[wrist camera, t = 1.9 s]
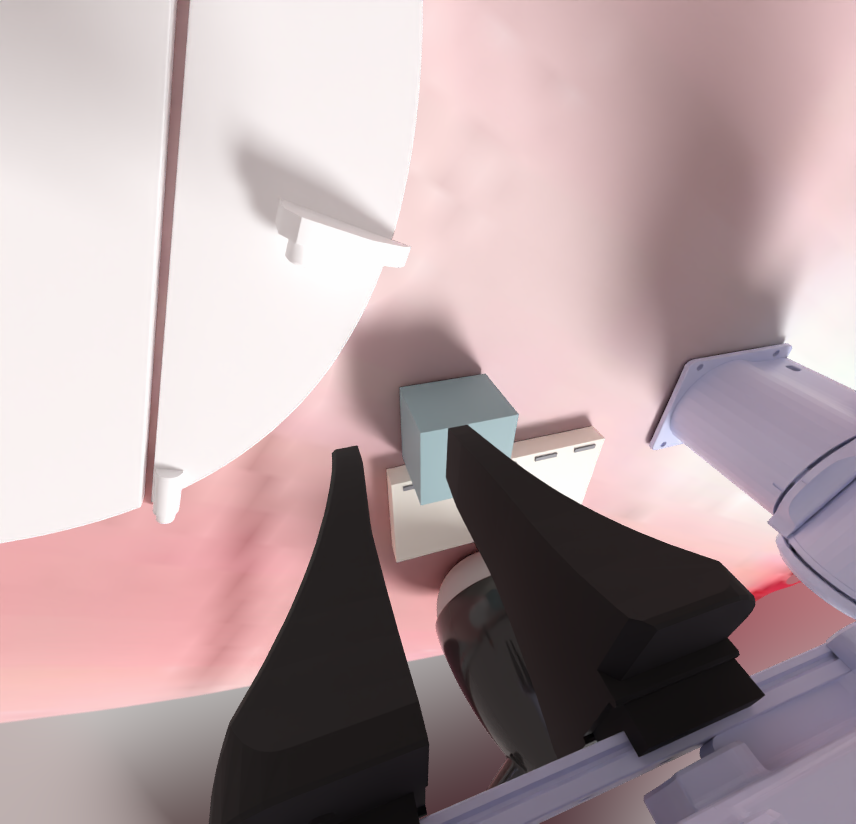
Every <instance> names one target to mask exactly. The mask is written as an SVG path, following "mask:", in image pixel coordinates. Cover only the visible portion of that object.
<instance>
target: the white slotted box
mask: <svg viewBox="0 0 856 824" xmlns="http://www.w3.org/2000/svg"><path fill="white" fill-rule="evenodd" d="M604 440H605V438H604V437H603V436H602V435H601V434H600V433H599V432H598V431H597V430H596V429H595V428H594V427H593V426H590V427H585V428H581V429H576V430H571V431H566V432H562V433H557V434H552V435H547V436H542V437H538V438H533V439H528V440H523V441H519V442H514V443H513V449H512V454H511V459H512V460H513V461H514V462H516V463H517V464H518V465H520V466H521V467H523V468H524V469H525V470H527V471H528V472H530V473H531V474H532V475H534V476H535V477H537V478H538V479H540V480H541V481H543V482H544V483H546V484H548V485H549V486H551V487H552V488H554V489H555V490H557V491H559V492H560V493H562V494H564V495H565V496H567V497H569V498H571V499H573V500H574V501H576V502H578V503H580V504H582V501H583V498H584V496H585V493H586V490H587V487H588V484H589V482H590V479H591V476H592V473H593V470H594V468H595V465H596V462H597V459H598V456H599V454H600V451H601V448H602V445H603V442H604ZM386 471H387V485H388V498H389V511H390V525H391V538H392V548H393V551H394V555H395V559H396V562H397V563H398V562H401V561H405V560H409V559H413V558H416V557H420V556H424V555H427V554H431V553H435V552H439V551H442V550H446V549H450V548H453V547H457V546H461V545H465V544H468V543H472V542H474V541H473V539H472V537H471V535H470V533H469V531H468V529H467V527H466V525H465V523H464V521H463V519H462V517H461V515H460V513H459V511H458V509H457V507H456V505H455V502H454V499H453V498H451V499H446V500H442V501H438V502H434V503H429V504H425V505H420V502H419V500H418V497H417V494H416V492H415V489H414V486H413V484H412V481H411V478H410V476H409V473H408V470H407V468H406V465H404V466H399V467H394V468H390V469H386Z"/></svg>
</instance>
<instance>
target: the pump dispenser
mask: <svg viewBox="0 0 856 824" xmlns="http://www.w3.org/2000/svg"><path fill="white" fill-rule="evenodd" d="M436 632H437V636H438V639H439V642H440V645H441V648H442V650H443V652H444V655H445V657H446V659H447V662H448V664H449V666H450V668H451V670H452V672H453V675H454V677H455V679H456V681H457V683H458V685H459V687H460V689H461V691H462V692H463V694H464V696H465V698H466V699H467V701H468V703H469V705H470V706H471V708H472V710H473V711H474V713H475V714H476V716H477V717H478V719H479V721H480V722H481V724H482V725H483V726H484V728H485V729H486V731H487V732H488V734H489V735H490V736H491V738H492V739H493V740H494V742H495V743H496V744H497V745H498V746H499V748H500V749H501V750H502V751H503V753H504V754H505V755H506V760H505V762H504V763H503V765H502V767H501V768H500V769H499V771H498V772H497V774H496V776H495V777H494V779H493V780H492V782H491V784H490V786H489V787H488V788H487V789H486V791H487V790H489V789H491V788H494V787H496V786H498V785H500V784H503V783H505V782H507V781H510V780H512V779H514V778H517V777H519V776H521V775H523V774H526V773H528V772H530V771H533V770H535V769H537V768H540V767H542V766H544V765H546V764H549V763H551V762H553V761H556V760H558V758H557V756H556V754H555V751H554V749H553V746H552V743H551V740H550V736H549V733H548V730H547V727H546V724H545V721H544V718H543V715H542V711H541V708H540V705H539V702H538V699H537V696H536V693H535V690H534V687H533V684H532V681H531V679H530V676H529V673H528V670H527V667H526V664H525V662H524V659H523V656H522V653H521V650H520V647H519V645H518V642H517V639H516V637H515V634H514V631H513V629H512V626H511V623H510V621H509V618H508V615H507V613H506V610H505V608H504V605H503V603H502V600H501V598H500V595H499V593H498V590H497V588H496V585H495V583H494V581H493V578H492V576H491V574H490V572H489V570H488V568H487V566H486V564H485V562H484V560H483V558H482V556H481V554H480V552H477V553H474V554H472V555H470V556H468V557H466V558H465V559H463V560H462V561H460V562H459V563H458V564H456V565H455V566H454V567H453V568H452V569H451V570H450V571H449V573H448V574H447V575H446V577H445V579H444V580H443V582H442V584H441V587H440V590H439V593H438V598H437V621H436Z"/></svg>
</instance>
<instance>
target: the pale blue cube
mask: <svg viewBox="0 0 856 824" xmlns="http://www.w3.org/2000/svg"><path fill="white" fill-rule="evenodd" d="M399 390H400V414H401V438H402V457H403V460H404V462H405V465H406V468H407V470H408V473H409V476H410V478H411V481H412V484H413V486H414V489H415V492H416V494H417V497H418V500H419V502H420V505H425V504H429V503H434V502H438V501H442V500H446V499H451V498H453V497H452V494H451V491H450V488H449V485H448V483H447V480H446V460H447V439H448V428H452V427H457V426H462V425H469V426H470V427H471V428H472V429H474V430H475V431H476V432H477V433H479V434H480V435H481V436H482V437H484V438H485V439H486V440H487V441H489V442H490V443H491V444H492V445H494V446H495V447H496V448H497V449H499V450H500V451H501V452H503V453H504V454H505V455H506V456H508V457H509V458H510V459H511V454H512V449H513V443H514V438H515V432H516V427H517V421H518V415H519V414H518V413H517V412H516V411H515V409H514V408H513V407H512V406H511V404H510V403H509V402H508V401H507V400H506V398H505V397H504V396H503V395H502V393H501V392H500V391H499V390H498V389H497V387H496V386H495V385H494V384H493V382H492V381H491V380H490V379H489V377H488V376H487V375H486V374H480V375H474V376H468V377H462V378H455V379H449V380H443V381H437V382H430V383H424V384H418V385H412V386H405V387H399Z"/></svg>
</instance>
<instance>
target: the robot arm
mask: <svg viewBox="0 0 856 824" xmlns="http://www.w3.org/2000/svg"><path fill="white" fill-rule="evenodd" d="M791 350H792V346H791V345H789V344H787V343H785V344H779V345H773V346H767V347H762V348H756V349H750V350H745V351H739V352H733V353H727V354H722V355H716V356H710V357H704V358H699V359H693V360H690V361H689V362H687V364H686V365H685V366H684V369H683V371H682V373H681V375H680V378H679V380H678V382H677V384H676V386H675V389H674V391H673V393H672V395H671V398H670V400H669V402H668V404H667V406H666V409H665V411H664V413H663V415H662V418H661V420H660V422H659V424H658V427H657V429H656V431H655V433H654V435H653V438H652V440H651V442H650V445H649V446H650V448H651V449H653V450H658V449H662V448H666V447H671V446H675V445H679V444H683V443H684V444H685V445H686V446H688V447H689V448H690V449H691V450H693V451H694V452H695V453H696V454H698V455H699V456H700V457H701V458H703V459H704V460H705V461H706V462H707V463H709V464H710V465H711V466H712V467H714V468H715V469H716V470H717V471H719V472H720V473H721V474H722V475H724V476H725V477H726V478H727V479H729V480H730V481H731V482H732V483H734V484H735V485H736V486H737V487H739V488H740V489H741V490H742V491H744V492H745V493H746V494H747V495H749V496H750V497H751V498H752V499H753V500H755V501H756V502H757V503H758V504H760V505H761V506H762V507H763V508H765V509H766V510H767V511H768V512H770V513H771V514H772V515H773V516H772V517H771V518H770V519H769V520H768V522H767V523H768V524H769V525H770V526H772V527H773V528H774V529H775V530H776V531H778V532H779V534H778V535H777V537H776V544H777V547H778V549H779V551H780V555H781V557H782V559H783V561H784V562H785V564H786V565H787V566H788V568H789V569H790V570H791V571H792V572H793V574H794V575H795V576H796V577H798V579H799V580H800V581H801V582H802V583H804V584H805V585H806V586H807V587H808V588H809V589H810V590H812V591H813V592H814V593H815V594H817V595H818V596H819V597H820V598H822V599H823V600H824V601H826V602H827V603H829V604H830V605H832V606H833V607H835V608H836V609H838V610H839V611H841V612H843V613H844V614H846V615H848V616H850V617H852V618H854V619H855V620H856V391H855V390H853V389H851V388H849V387H847V386H845V385H843V384H841V383H838V382H836V381H834V380H832V379H830V378H828V377H826V376H824V375H822V374H820V373H817V372H815V371H813V370H811V369H809V368H807V367H805V366H803V365H801V364H799V363H796V362H794V361H792V360H790V359H788V358H787V356H788V355H789V353H790V351H791ZM446 480H447V483H448V485H449V488H450V491H451V494H452V497H453V499H454V502H455V505H456V507H457V509H458V511H459V513H460V515H461V517H462V519H463V521H464V523H465V525H466V527H467V529H468V531H469V533H470V535H471V537H472V539H473V541H474V543H475V545H476V546H477V548H478V550H479V552H480V554H481V556H482V558H483V560H484V562H485V564H486V566H487V568H488V570H489V572H490V574H491V576H492V578H493V581H494V583H495V585H496V588H497V590H498V593H499V595H500V598H501V600H502V603H503V605H504V608H505V610H506V613H507V615H508V618H509V621H510V623H511V626H512V629H513V631H514V634H515V637H516V639H517V642H518V645H519V647H520V650H521V653H522V656H523V659H524V662H525V664H526V667H527V670H528V673H529V676H530V679H531V681H532V684H533V687H534V690H535V693H536V696H537V699H538V702H539V705H540V708H541V711H542V715H543V718H544V721H545V724H546V727H547V730H548V733H549V736H550V740H551V743H552V746H553V749H554V751H555V754H556V756H557V758H558V760H556V761H553V762H551V763H549V764H546V765H544V766H542V767H540V768H537V769H535V770H533V771H530V772H528V773H526V774H523V775H521V776H519V777H517V778H514V779H512V780H510V781H507V782H505V783H503V784H500V785H498V786H496V787H494V788H491V789H489V790H487V791H484V792H482V793H480V794H478V795H475V796H473V797H471V798H468V799H466V800H464V801H461V802H459V803H457V804H455V805H452V806H450V807H448V808H445V809H443V810H441V811H438V812H436V813H434V814H432V815H429V816H427V817H425V818H422V819H420V820H419V818H420V817H423V816H425V815H427V812H426V807H425V787H426V786H428V761H429V742H428V737H427V733H426V729H425V725H424V721H423V717H422V713H421V709H420V704H419V701H418V697H417V694H416V690H415V687H414V684H413V680H412V677H411V674H410V670H409V667H408V664H407V660H406V656H405V653H404V649H403V646H402V643H401V639H400V636H399V632H398V629H397V625H396V621H395V618H394V614H393V611H392V607H391V603H390V600H389V596H388V592H387V589H386V585H385V581H384V577H383V574H382V570H381V566H380V562H379V558H378V555H377V551H376V547H375V543H374V539H373V535H372V530H371V524H370V517H369V509H368V501H367V493H366V485H365V476H364V468H363V462H362V458H361V455H360V452H359V449H358V446H352V447H347V448H342V449H337V450H335V451H334V452H333V453H332V475H331V483H330V489H329V494H328V499H327V504H326V509H325V513H324V517H323V520H322V524H321V527H320V531H319V535H318V538H317V541H316V545H315V548H314V551H313V554H312V556H311V559H310V562H309V565H308V567H307V570H306V573H305V575H304V578H303V580H302V583H301V585H300V588H299V590H298V592H297V595H296V597H295V600H294V602H293V604H292V606H291V609H290V611H289V613H288V615H287V617H286V619H285V622H284V624H283V626H282V628H281V630H280V631H279V633H278V635H277V637H276V639H275V641H274V643H273V645H272V647H271V649H270V651H269V653H268V655H267V657H266V659H265V661H264V663H263V665H262V667H261V669H260V670H259V672H258V674H257V676H256V677H255V679H254V681H253V683H252V684H251V686H250V688H249V690H248V691H247V693H246V695H245V697H244V698H243V700H242V702H241V703H240V705H239V707H238V709H237V711H236V712H235V714H234V716H233V717H232V719H231V721H230V723H229V726H228V729H227V732H226V735H225V739H224V742H223V746H222V749H221V753H220V757H219V761H218V765H217V769H216V774H215V779H214V784H213V790H212V796H211V806H210V818H209V824H539V823H540V822H543V821H545V820H547V819H549V818H551V817H553V816H555V815H558V814H560V813H562V812H564V811H566V810H568V809H570V808H572V807H574V806H577V805H579V804H581V803H583V802H585V801H587V800H589V799H591V798H594V797H595V796H598V795H600V794H602V793H604V792H606V791H608V790H610V789H613V788H615V787H617V786H619V785H621V784H623V783H625V782H627V781H629V780H632V779H634V778H636V777H638V776H640V775H642V774H644V773H646V772H648V771H651V770H653V769H655V768H657V767H659V766H661V765H663V764H665V763H667V762H670V761H671V760H674V759H676V758H678V757H680V756H682V755H684V754H686V753H688V752H691V751H693V750H695V749H697V748H699V747H701V746H702V747H701V748H700V757H701V759H700V760H698V761H697V762H695V763H693V764H691V765H689V766H687V767H686V768H684V769H682V770H680V771H678V772H677V773H675V774H674V775H673V776H672V777H671V778H670V779H669V780H667V781H666V782H664V783H663V784H662V785H660V786H658V787H657V788H655V789H654V790H652V791H650V792H649V793H647V794H646V795H644V803H645V804H646V806H647V808H648V810H649V812H650V814H651V815H652V817H653V819H654V821H655V823H656V824H856V622H854V623H852V624H849V625H847V626H846V627H844V628H842V629H841V630H839V631H838V632H836V633H835V634H833V635H832V636H831V637H830V638H829V639H827V640H826V643H825V644H822V645H820V646H818V647H815V648H813V649H811V650H808V651H806V652H804V653H802V654H799V655H797V656H795V657H792V658H790V659H788V660H786V661H783V662H781V663H779V664H776V665H774V666H772V667H770V668H767V669H765V670H763V671H760V672H758V673H756V674H754V675H751V676H749V675H748V674H747V673H746V671H745V670H744V669H743V668H742V667H741V666H740V664H739V663H738V662H737V661H736V660H735V658H737V657H738V656H739V655H740V654H739V651H738V649H737V648H736V647H735V646H734V645H733V644H732V642H731V641H730V640H729V639H728V638H727V637H728V636H729V635H730V634H731V633H732V632H733V631H734V630H735V629H736V628H737V627H738V626H739V625H740V624H741V623H742V622H743V621H744V620H745V619H746V618H747V617H748V615H749V614H750V613H751V612H752V611H753V608H754V607H755V598H754V596H753V595H752V594H751V593H750V592H749V591H748V590H747V589H746V588H745V587H744V586H743V585H742V584H741V583H740V582H739V581H738V580H737V579H736V578H735V577H734V576H733V575H732V574H731V573H730V572H729V571H728V569H727V568H726V567H724V566H723V565H722V564H721V563H720V562H719V561H717V560H714V559H711V558H708V557H705V556H702V555H699V554H696V553H693V552H690V551H687V550H684V549H681V548H678V547H676V546H673V545H670V544H667V543H665V542H662V541H660V540H657V539H655V538H652V537H650V536H647V535H645V534H642V533H640V532H637V531H635V530H633V529H631V528H628V527H626V526H624V525H621V524H619V523H617V522H615V521H613V520H611V519H609V518H607V517H605V516H603V515H601V514H598V513H597V512H595V511H593V510H591V509H589V508H587V507H585V506H583V505H581V504H580V503H578V502H576V501H574V500H573V499H571V498H569V497H567V496H565V495H564V494H562V493H560V492H559V491H557V490H555V489H554V488H552V487H551V486H549V485H548V484H546V483H544V482H543V481H541V480H540V479H538V478H537V477H535V476H534V475H532V474H531V473H530V472H528V471H527V470H525V469H524V468H523V467H521V466H520V465H518V464H517V463H516V462H514V461H513V460H512V459H510V458H509V457H508V456H506V455H505V454H504V453H503V452H501V451H500V450H499V449H497V448H496V447H495V446H494V445H492V444H491V443H490V442H489V441H487V440H486V439H485V438H484V437H482V436H481V435H480V434H479V433H477V432H476V431H475V430H474V429H472V428H471V427H470V426H469V425H462V426H457V427H452V428H448V439H447V460H446Z"/></svg>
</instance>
